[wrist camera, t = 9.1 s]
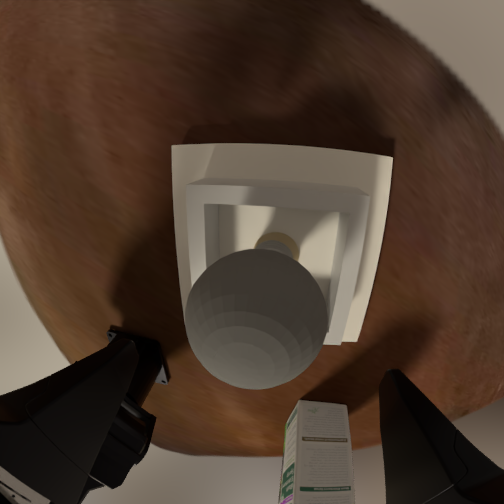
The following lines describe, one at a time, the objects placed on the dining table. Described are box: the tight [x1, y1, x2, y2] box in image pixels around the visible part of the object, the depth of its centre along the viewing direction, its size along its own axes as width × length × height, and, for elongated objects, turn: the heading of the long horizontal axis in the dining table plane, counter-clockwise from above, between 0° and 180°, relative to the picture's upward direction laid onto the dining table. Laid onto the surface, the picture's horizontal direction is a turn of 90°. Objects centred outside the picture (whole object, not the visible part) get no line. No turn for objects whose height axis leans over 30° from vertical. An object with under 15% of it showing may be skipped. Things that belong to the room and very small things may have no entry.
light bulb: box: [185, 240, 328, 389], centre depth 13 cm, size 6×6×10 cm
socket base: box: [172, 143, 393, 345], centre depth 17 cm, size 14×14×4 cm
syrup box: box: [278, 400, 355, 504], centre depth 19 cm, size 6×6×14 cm
